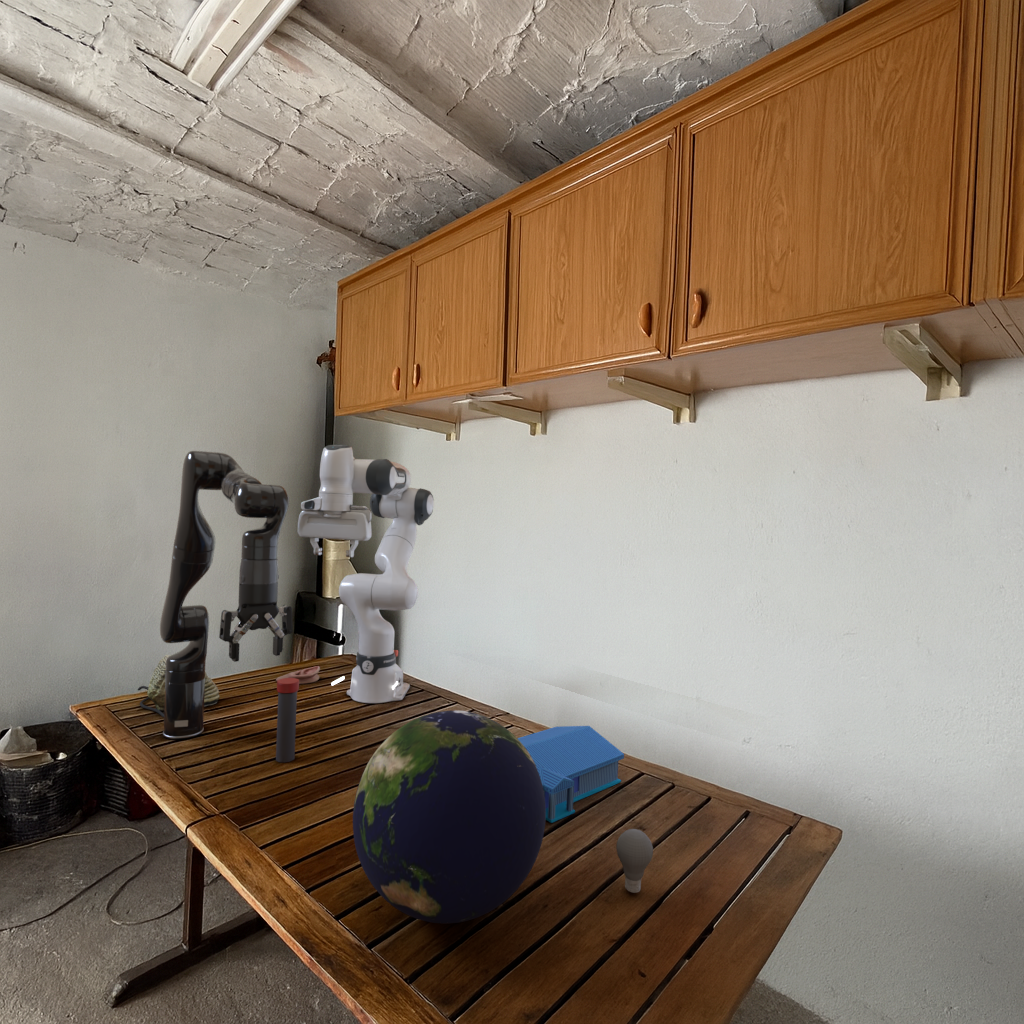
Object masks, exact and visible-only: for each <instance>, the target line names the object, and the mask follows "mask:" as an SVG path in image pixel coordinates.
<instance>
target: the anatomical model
mask: <svg viewBox="0 0 1024 1024" xmlns="http://www.w3.org/2000/svg"><path fill="white" fill-rule="evenodd" d="M320 671H321V667H320V666H319V665H316V666H313V667H308V668H304V669H303V668H302V669H300V670H299V669H298V670H297V671H291V672H289V673H286V674H284V675H280V676H277V678H276V679H275V681H276V682H277V681H278V680H279V679H283V678H296V679H299V685H301V684H303V685H304V684H310V683H315V682H317V681H318V680H319V679H320V675H319V672H320Z"/></svg>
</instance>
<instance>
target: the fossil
mask: <svg viewBox="0 0 1024 1024" xmlns="http://www.w3.org/2000/svg"><path fill="white" fill-rule="evenodd" d="M171 655H172V654H165V655H164V656H163V657H162V658H161V659H160V660H159V662H158V663H157V666H156V667H155V669H154V670H153V672H152V675H151V677H150V680H149V684H148V687H149V688H148V690H147V697H149V698H150V699H149V700H150V701H152V703H153V704H154V706H155V709H158V710H160V711H161V712H163V711H164V705H165V674H166V660H167V658H168V657H169V656H171ZM220 698H221V696H220V690H219V688H218V686H217V685H216V683H215V682H214V681H213V679H212V678H211V677H209V675H208V674H207V672H206V671H205V693H204V707H207V706H213V705H215V704H217V703H218V701H219V699H220Z"/></svg>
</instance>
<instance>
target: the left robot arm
mask: <svg viewBox="0 0 1024 1024" xmlns="http://www.w3.org/2000/svg"><path fill="white" fill-rule="evenodd" d="M204 490H206V491H221V493H222V495H223V496H224V497H225V499H227V500H228V501H229V502H231V503H232V504H233V506H234V510H235V512H236V514H237V515H238V516H240V517H242V518H246V519H265V521H264V523H263V524H262V525H261V526H260V527H258V528H253V529H248V530H246V531H244V533H243V534H242V538H241V559H240V566H239V576H238V580H239V581H238V606H237V609H236V610H228V609H223V610H222V611H221V613H220V622H219V623H220V626H219V635H218V638H219V639H220V640H222V641H223V642H228V657H229V659H231V661H232V662H234V663H235V662H240V644H241V643H239V642H240V641H241V639H242V638H243V636H244V635H246V634H247V633H248V631H249V630H250V631H256V630H258V629H260V630H267V628H268V629H269V631H271V633H272V634H273V635H274V636H273V637H272V655H274V656H276V657H277V656H278V657H279V656H280V655H281V653H282V652H283V650H284V648H283V646H284V637H286V636H287V635H291V634H292V633H293V607H292V606H290V605H287V604H282V606H278V594H279V592H278V591H279V579H280V575H279V561H278V560H279V559H278V557H279V539H280V535H281V532H282V527H283V525H284V521H285V518H286V516H287V513H288V509H289V506H290V505H289V504H290V497H289V494H288V491H287V490H286V489H285V487H283V486H282V485H278V484H262V482H261V481H260V480H259V479H257V478H256V477H254V476H252V475H251V474H248V473H246V472H245V471H244V469H243V468H242V467H241V466H240V465H239V463H238V462H237V461H236V460H235V459H234V458H233V457H232V456H231V455H229V454H227V453H224V452H216V451H205V450H204V451H203V450H191V451H188V452H187V453H186V455H185V457H184V460H183V463H182V471H181V483H180V500H179V509H178V510H179V512H178V518H177V524H176V530H175V535H174V542H173V546H172V554H171V563H170V564H171V565H170V572H169V579H168V586H167V590H166V594H165V599H164V603H163V608H162V611H161V616H160V622H159V634H160V635H159V636H160V638H161V640H162V641H163V642H164V643H166V644H178V643H188V644H187V645H186V646H184V647H183V648H182V649H180V650H179V651H177V652H175V653H173V654H170V655H171V656H169V657H168V658H167V660H166V674H165V705H164V710H163V711H160V710H158V709H156V707H152V706H148V705H145V704H144V703H145V702H147V701H149V700H151V699H150V698H149V697H148V696H147V697H145V698H144V699H142V700H141V701H140V702H139V706H140V707H141V708H143V709H145V710H149V711H151V712H155V713H157V714H159V715H160V716H161V717H162V718H163V731H162V737H164V738H166V739H169V740H185V739H190V738H191V739H192V738H194V737H197V736H199V735H202V734H203V732H204V730H205V729H204V722H205V721H204V718H205V706H204V693H205V672H206V664H207V663H206V660H207V653H208V640H209V633H210V631H209V630H210V615H209V614H210V613H209V610H208V609H207V607H206V606H205V605H203V604H194V605H193V604H192V605H183V604H184V603H185V600H186V598H187V596H188V595H189V593H190V592H191V590H192V589H193V588H194V587H195V586H196V585H197V584H198V583H199V581H200V580H201V579H202V578H203V577H204V576H205V575H206V573H208V571H209V570H210V568H211V566H212V564H213V561H214V554H215V548H216V536H215V534H214V531H213V529H212V526H210V524H209V522H208V521H207V519H206V517H205V516H204V513H203V511H202V508H201V507H200V506H201V505H200V503H199V492H200V491H204ZM278 615H279V616H281V626H282V627H281V628H280V626H279V624H278V623H277V622H276V620H275V619H276V617H277V616H278ZM235 618H237V619H238V622H237V624H236V626H234V629H233V631H231V630H232V623H233V622H234V621H235ZM148 688H149V686H146V685H141V686H139V687H138V688H137V691H141V690H142V689H144V690H146V691H148Z"/></svg>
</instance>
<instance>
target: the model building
mask: <svg viewBox="0 0 1024 1024" xmlns="http://www.w3.org/2000/svg"><path fill="white" fill-rule="evenodd" d="M516 738H517V739H518V740H519V741H520V742H521V743H522V744H523V746H524V747H525V748H526V749H527V751H528V752H529V754H530V756H531V757H532V759H533V761H534V763H535V765H536V768H537V770H538V773H539V775H540V779H541V782H542V786H543V791H544V796H545V806H546V820H545V821H548V823H551V824H553V823H556V822H557V821H559V820H562V819H564V818H567V817H569V816H570V815H573V814H575V813H576V810H575V809H574V803H576V802H578V801H580V800H583V799H585V798H587V797H589V796H592V795H594V794H597V793H599V792H601V791H604V790H607V789H609V788H611V787H613V786H615V785H617V784H620V783H622V779H620V778H618V777H619V761H621V760H623V759H625V753H623V751H621V750H620V749H619V748H617V747H616V746H615V745H613V743H611V741H609V740H607V738H605V737H604V736H602V735H601V734H600V733H599V732H597V731H596V730H595V729H594V728H593V727H592V726H590V725H566V726H565V725H564V726H563V725H561V726H560V725H559V726H553V727H550V728H548V729H544V730H540V731H537V732H534V733H531V734H527V735H523V736H520V737H516Z"/></svg>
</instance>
